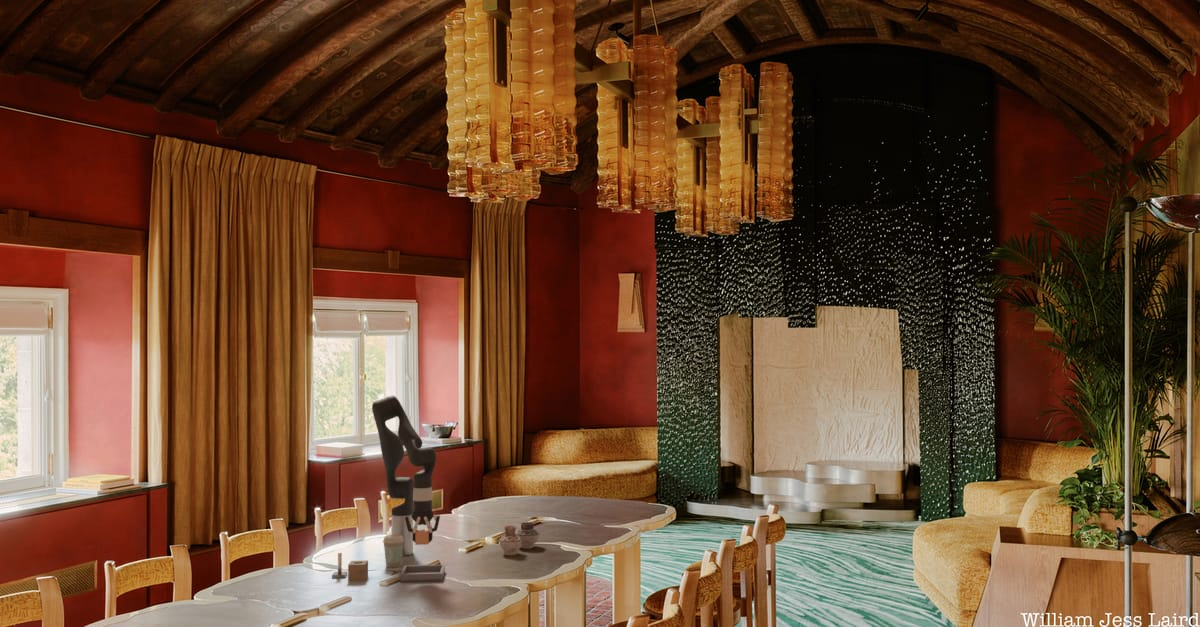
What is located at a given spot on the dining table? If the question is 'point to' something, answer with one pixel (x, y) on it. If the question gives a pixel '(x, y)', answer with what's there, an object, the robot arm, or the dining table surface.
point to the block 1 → (358, 570)
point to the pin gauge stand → (339, 569)
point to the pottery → (518, 538)
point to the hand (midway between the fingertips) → (422, 541)
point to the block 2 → (422, 537)
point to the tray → (422, 573)
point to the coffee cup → (393, 550)
